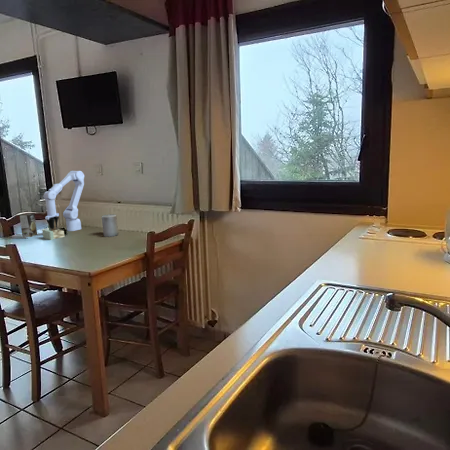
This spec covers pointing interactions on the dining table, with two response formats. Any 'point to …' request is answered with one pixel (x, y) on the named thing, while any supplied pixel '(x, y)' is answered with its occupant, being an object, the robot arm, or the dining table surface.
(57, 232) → the socket block
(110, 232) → the pillar candle
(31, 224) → the coffee box
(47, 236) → the board
